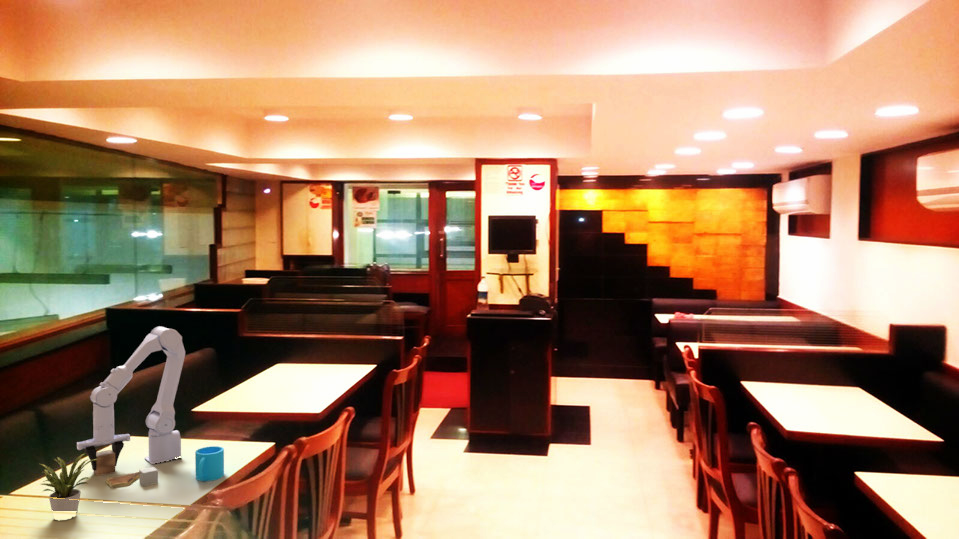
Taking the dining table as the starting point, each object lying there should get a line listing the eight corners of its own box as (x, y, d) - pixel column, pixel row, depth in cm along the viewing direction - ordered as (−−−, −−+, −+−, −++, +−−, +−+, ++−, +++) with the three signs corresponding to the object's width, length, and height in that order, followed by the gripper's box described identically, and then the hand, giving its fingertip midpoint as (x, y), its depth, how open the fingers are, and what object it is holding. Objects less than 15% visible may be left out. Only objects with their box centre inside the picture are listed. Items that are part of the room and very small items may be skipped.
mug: (202, 471, 207) (201, 446, 207) (227, 471, 207) (227, 446, 207) (185, 485, 195) (185, 458, 195) (213, 485, 195) (212, 458, 195)
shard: (143, 475, 205) (143, 469, 205) (152, 481, 199) (152, 475, 199) (105, 484, 197) (105, 478, 197) (112, 491, 192) (112, 485, 192)
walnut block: (111, 468, 209) (110, 449, 209) (115, 472, 206) (115, 453, 206) (93, 471, 206) (93, 453, 206) (97, 475, 202) (97, 456, 202)
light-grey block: (153, 479, 200) (153, 466, 200) (157, 483, 197) (157, 470, 197) (139, 482, 197) (139, 469, 197) (143, 486, 194) (143, 473, 194)
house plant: (103, 501, 182) (102, 443, 182) (101, 520, 170) (100, 458, 170) (42, 510, 176) (40, 450, 175) (35, 530, 163) (34, 466, 163)
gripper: (80, 431, 197) (80, 476, 198) (132, 423, 207) (133, 465, 208) (75, 427, 203) (75, 470, 203) (126, 418, 212) (126, 460, 213)
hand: (104, 467), depth 206 cm, fingers closed on walnut block, 5 cm apart
